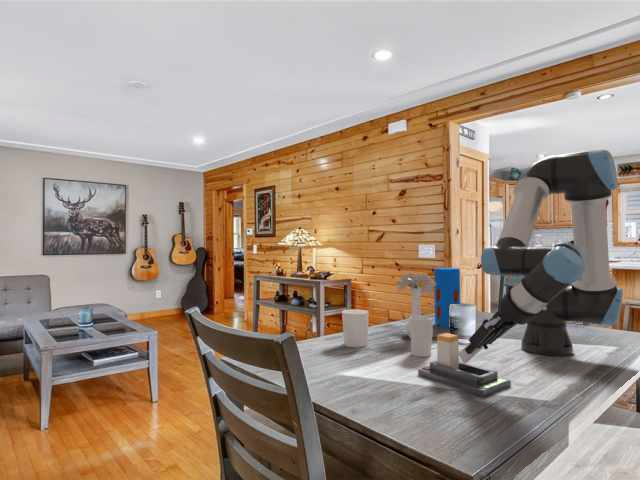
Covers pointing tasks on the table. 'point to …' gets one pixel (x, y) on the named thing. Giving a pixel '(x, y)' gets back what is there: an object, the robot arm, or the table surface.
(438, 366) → the dark gray tray
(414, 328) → the mug
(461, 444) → the table surface
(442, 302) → the leaf-print blue block
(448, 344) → the toggle
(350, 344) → the candle holder
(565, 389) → the table surface
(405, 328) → the flower vase
